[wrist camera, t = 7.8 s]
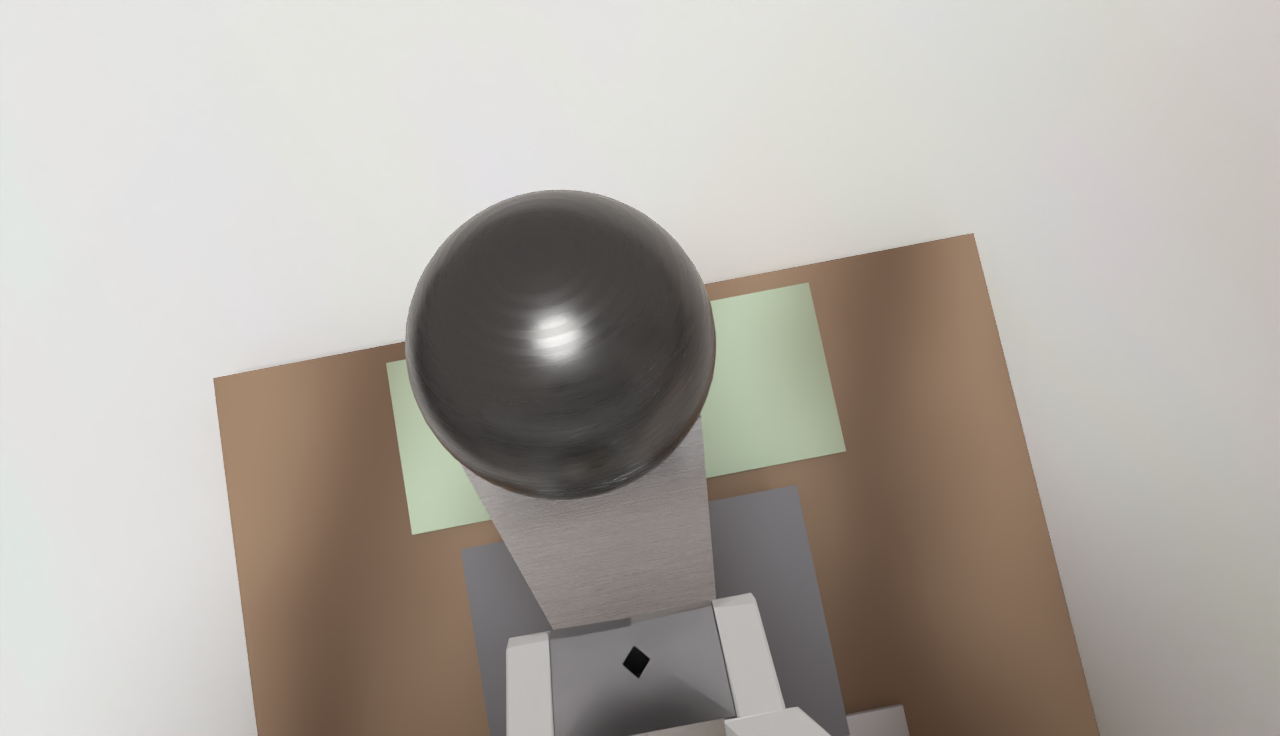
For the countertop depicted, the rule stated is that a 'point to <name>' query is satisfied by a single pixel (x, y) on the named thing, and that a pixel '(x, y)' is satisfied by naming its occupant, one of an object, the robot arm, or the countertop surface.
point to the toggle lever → (574, 397)
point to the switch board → (864, 518)
